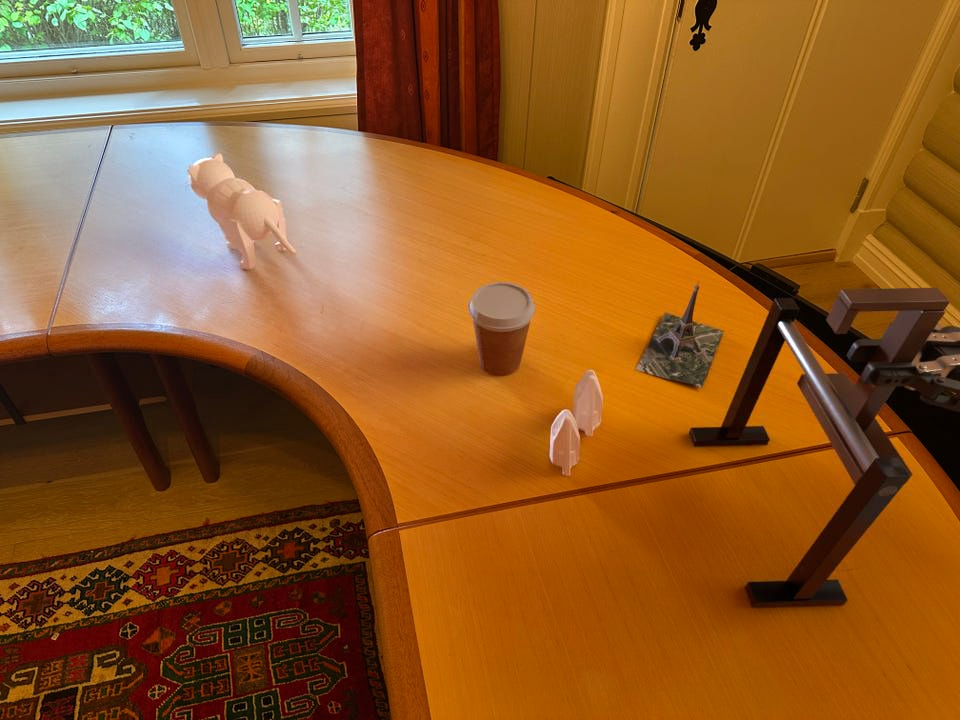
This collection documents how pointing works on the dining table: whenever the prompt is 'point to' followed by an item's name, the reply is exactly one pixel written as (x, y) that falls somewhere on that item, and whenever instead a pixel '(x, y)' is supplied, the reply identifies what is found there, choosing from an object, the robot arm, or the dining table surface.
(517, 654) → the dining table surface
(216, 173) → the cat figurine
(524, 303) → the disposable coffee cup
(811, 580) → the rack
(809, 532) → the dining table surface
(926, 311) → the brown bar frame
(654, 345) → the eiffel tower figurine
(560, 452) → the shaker set
